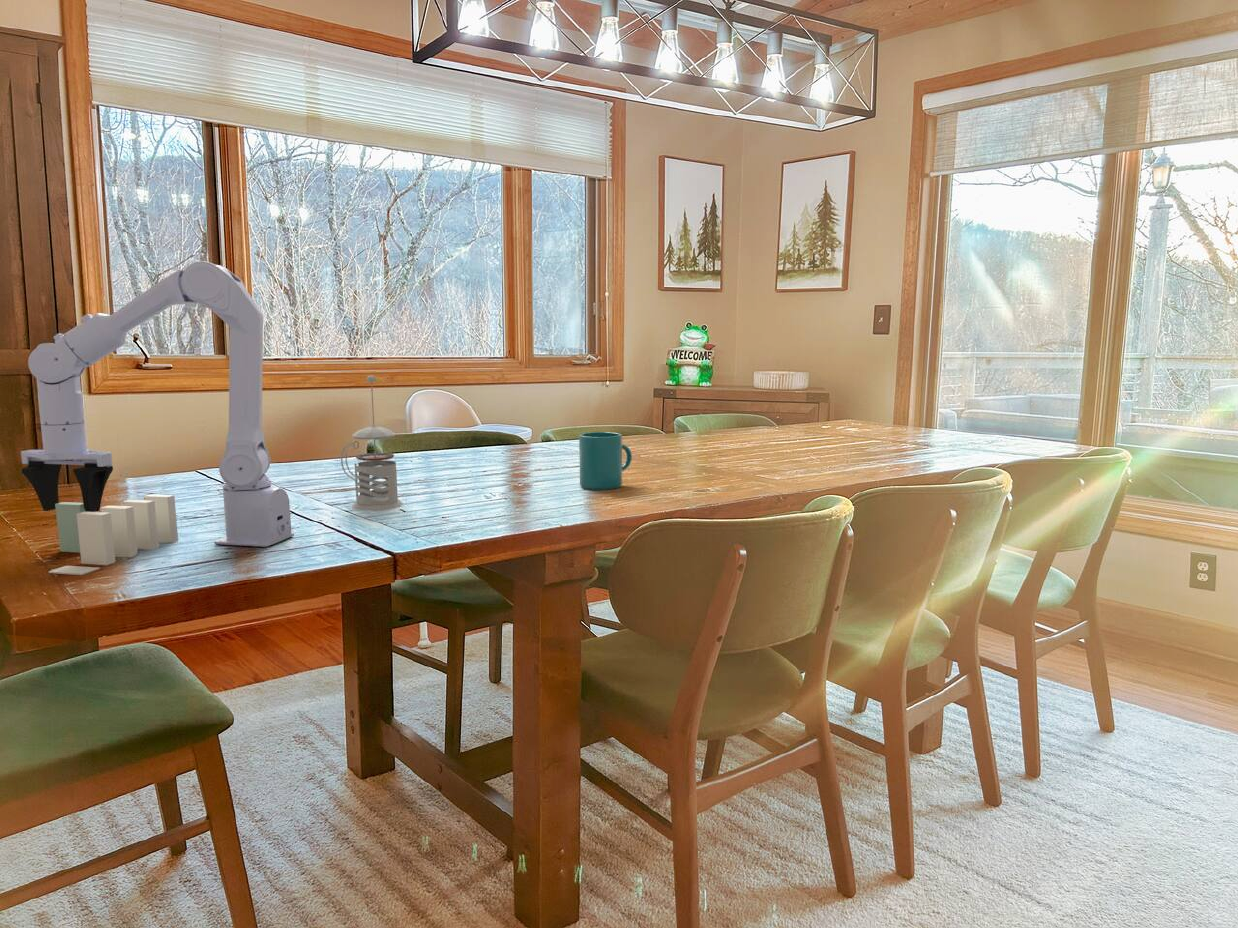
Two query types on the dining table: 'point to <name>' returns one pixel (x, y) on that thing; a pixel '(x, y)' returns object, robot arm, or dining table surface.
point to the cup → (602, 460)
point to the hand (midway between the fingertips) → (71, 510)
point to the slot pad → (74, 570)
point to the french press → (374, 471)
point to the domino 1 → (68, 525)
